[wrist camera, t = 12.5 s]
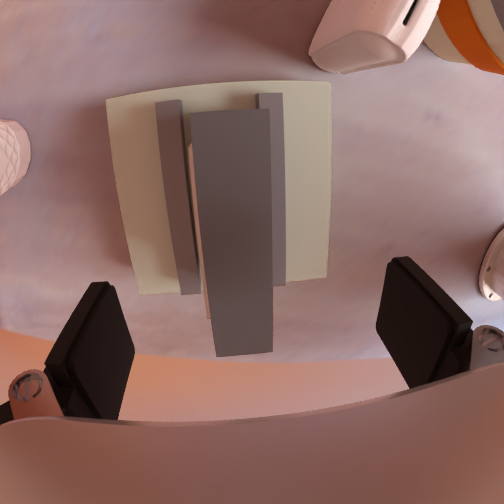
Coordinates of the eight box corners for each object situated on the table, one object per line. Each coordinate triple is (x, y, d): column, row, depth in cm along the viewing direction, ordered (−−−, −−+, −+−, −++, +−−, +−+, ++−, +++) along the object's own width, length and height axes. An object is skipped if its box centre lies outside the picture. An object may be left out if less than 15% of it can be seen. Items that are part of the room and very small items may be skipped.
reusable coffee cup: (440, 97, 24) (561, 117, 11) (371, -10, 19) (479, -61, 6) (496, 55, 22) (596, 64, 8) (442, -38, 17) (536, -66, 3)
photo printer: (342, -25, 18) (413, -80, 7) (381, -1, 20) (467, -37, 8) (298, 58, 22) (363, 24, 11) (342, 81, 23) (428, 73, 12)
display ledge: (314, 85, 23) (341, 80, 18) (313, 256, 30) (333, 290, 25) (121, 100, 22) (95, 99, 17) (147, 272, 29) (135, 309, 24)
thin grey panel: (245, 108, 20) (269, 108, 11) (252, 264, 25) (272, 351, 16) (197, 112, 20) (182, 113, 11) (210, 268, 25) (210, 357, 16)
